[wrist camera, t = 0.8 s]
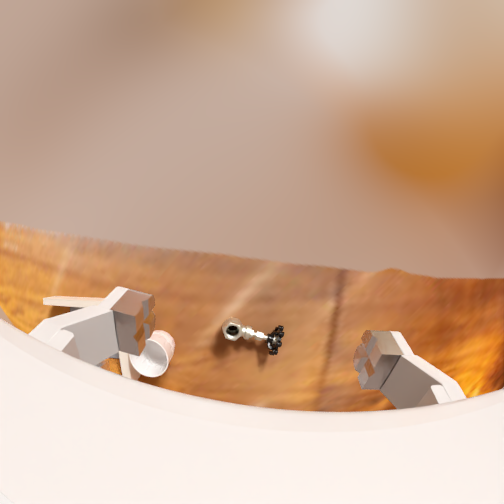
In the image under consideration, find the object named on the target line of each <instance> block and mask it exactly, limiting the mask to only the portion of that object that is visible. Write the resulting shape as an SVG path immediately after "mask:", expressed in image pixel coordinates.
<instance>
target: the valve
mask: <svg viewBox="0 0 504 504" xmlns="http://www.w3.org/2000/svg"><path fill="white" fill-rule="evenodd" d="M229 326H236V327H237V329H236V330H229V329H228V327H229ZM283 328H284V327H283V326H280V325H279V326H278V327H276V328H275V331H276V332H272V333H271V334H267V335H263V332H260V331H257V332H254V330H253V329H252V326H249V325H247V326H243V325H242V323H241V322H240V321H239V319H237V318H234V317H231V316H230V317H229V318H228V319H227V320H226V321H225V322H224V323H223V325H222V331H223V333H224V335H225V338H226V339H229V340H233V341H236V340H237V339H238V338H239V337H240V336H241V337H243V339H246V340H248V339H249V338H252V337H255V339H256V340H259V341H261V340H262V339H263V340H265V342H266V343H267V347H268V348H269V349H270V350H272V351H269V354H270V355H274V354H275V355H277V353H278V347H281V345H282V342H281V338H282V337H283V336H284V332H282V331H283Z"/></svg>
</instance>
